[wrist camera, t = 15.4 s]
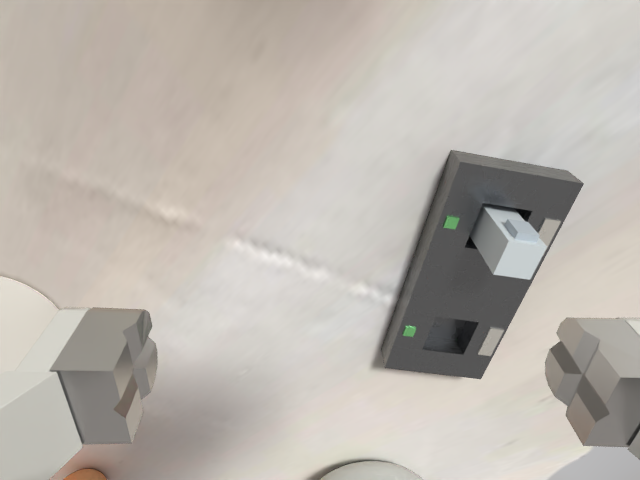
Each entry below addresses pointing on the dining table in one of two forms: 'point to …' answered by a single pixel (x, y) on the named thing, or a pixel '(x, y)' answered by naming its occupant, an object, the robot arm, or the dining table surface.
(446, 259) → the panel
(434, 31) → the dining table surface
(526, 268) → the plug
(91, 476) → the egg
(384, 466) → the serving bowl
